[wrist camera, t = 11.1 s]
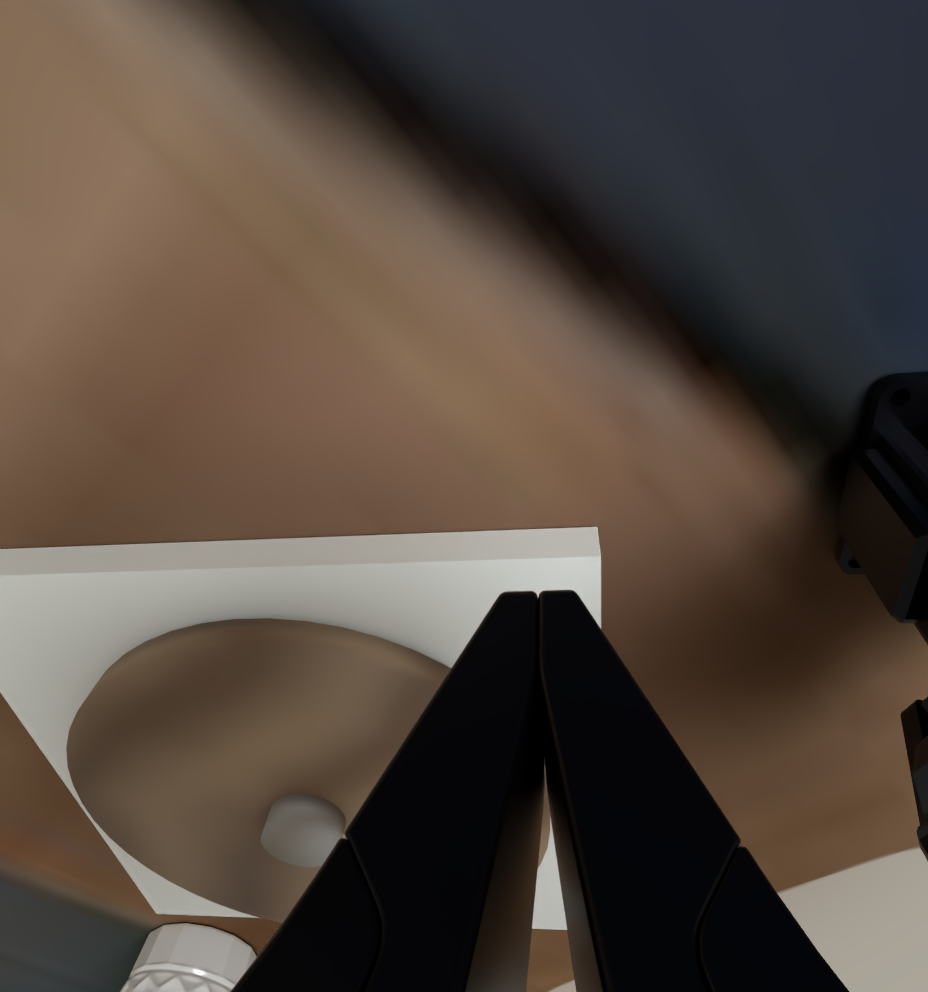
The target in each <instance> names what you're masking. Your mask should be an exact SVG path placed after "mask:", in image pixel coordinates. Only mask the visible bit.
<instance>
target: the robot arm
mask: <svg viewBox="0 0 928 992" xmlns="http://www.w3.org/2000/svg"><path fill="white" fill-rule="evenodd" d="M902 388H903V389H904V391H903V393H902V394H901V395H900V396H899V397H898V398H896V399H892V400H889V398H890V396H891V394H892V393H893V392H895V391H896V390H898V389H902ZM836 528H837V529H838V531H839V533H840V536H839V540H838V544H837V548H836V553H835V559H836V561H837V563H838V565H839V566H840V568H841V569H842V571H843V572H845V573H847V574H865V575H866V576H867V578H868V580H869V581H870V583H871V584H872V586H873V588H874V589H875V591H876V593H877V594H878V596H879V597H880V599H881V601H882V602H883V604H884V606H885V607H886V609H887V610H888V612H889V614H890V615H891V616H892V617H893V618H895V619H896V620H897V621H898V622H899V623H914V624H915V626H916V628H917V629H918V631H919V632H920V634H921V635H922V637H923V638H924V640H925V641H926V643H927V644H928V372H914V373H898V374H893V375H889V376H888V377H886V378H884V379H882V380H881V381H880V382H879V383H878V384H877V385H876V387H875V389H874V392H873V395H872V400H871V404H870V408H869V412H868V417H867V421H866V425H865V429H864V434H863V438H862V442H861V446H860V448H859V449H858V450H857V451H856V452H855V453H854V454H853V455H852V456H851V459H850V463H849V468H848V472H847V477H846V481H845V485H844V490H843V494H842V498H841V503H840V507H839V512H838V516H837V520H836ZM852 557H855V559H854V560H850V559H851V558H852ZM901 721H902V726H903V732H904V738H905V743H906V749H907V754H908V760H909V766H910V771H911V777H912V783H913V788H914V794H915V799H916V805H917V811H918V816H919V822H920V826H919V827H918V829H917V836H918V840H919V844H920V848H921V850H922V851H923V853H924V855H925V857H926V859H927V860H928V697H927V698H925V699H924V700H923V701H922V700H916V701H915V702H914V703H912V704H911V705H910V706H909V707H908V708H906V709H905V710H904V711H903V712H902V713H901ZM545 772H546V785H547V794H548V803H549V811H550V817H551V824H552V831H553V838H554V844H555V851H556V858H557V864H558V871H559V878H560V884H561V891H562V898H563V904H564V911H565V918H566V925H567V931H568V938H569V945H570V951H571V958H572V965H573V971H574V978H575V985H576V991H577V992H849V991H848V989H847V988H846V987H845V986H844V984H843V983H842V982H841V981H840V979H839V978H838V977H837V975H836V974H835V973H834V972H833V970H832V969H831V968H830V966H829V965H828V964H827V962H826V961H825V960H824V959H823V957H822V956H821V955H820V953H819V952H818V951H817V949H816V948H815V946H814V945H813V944H812V942H811V941H810V939H809V938H808V937H807V935H806V934H805V932H804V931H803V929H802V928H801V927H800V925H799V924H798V922H797V921H796V919H795V918H794V917H793V916H792V914H791V912H790V911H789V910H788V908H787V907H786V905H785V904H784V903H783V901H782V900H781V898H780V897H779V895H778V894H777V893H776V891H775V890H774V888H773V887H772V885H771V884H770V882H769V881H768V879H767V878H766V876H765V875H764V873H763V872H762V870H761V869H760V867H759V866H758V864H757V863H756V861H755V860H754V858H753V857H752V855H751V854H750V852H749V851H748V849H747V848H745V847H740V843H741V840H740V838H739V836H738V835H737V833H736V832H735V830H734V829H733V827H732V826H731V824H730V823H729V821H728V820H727V818H726V817H725V815H724V814H723V812H722V811H721V809H720V808H719V806H718V805H717V803H716V802H715V800H714V799H713V797H712V796H711V794H710V793H709V791H708V790H707V788H706V787H705V785H704V784H703V782H702V781H701V779H700V777H699V776H698V774H697V773H696V771H695V770H694V768H693V767H692V765H691V764H690V762H689V761H688V759H687V758H686V756H685V755H684V753H683V752H682V750H681V749H680V747H679V746H678V744H677V743H676V741H675V740H674V738H673V737H672V735H671V734H670V732H669V731H668V729H667V728H666V726H665V725H664V723H663V722H662V720H661V719H660V717H659V716H658V714H657V713H656V711H655V710H654V708H653V707H652V705H651V704H650V702H649V701H648V699H647V698H646V696H645V695H644V693H643V692H642V690H641V689H640V687H639V686H638V684H637V683H636V681H635V680H634V678H633V677H632V675H631V674H630V672H629V671H628V669H627V668H626V666H625V665H624V663H623V662H622V660H621V658H620V657H619V655H618V654H617V652H616V651H615V649H614V648H613V646H612V645H611V643H610V642H609V640H608V639H607V637H606V636H605V634H604V633H603V631H602V630H601V628H600V627H599V625H598V624H597V622H596V621H595V619H594V618H593V616H592V615H591V613H590V612H589V610H588V609H587V607H586V606H585V604H584V603H583V601H582V600H581V598H580V597H579V595H578V594H577V593H576V592H575V591H573V590H545V591H542V592H540V594H539V596H537V594H536V593H535V592H534V591H506V592H503V593H501V594H500V595H499V596H498V598H497V599H496V601H495V602H494V604H493V605H492V607H491V608H490V610H489V611H488V613H487V614H486V616H485V617H484V619H483V620H482V622H481V624H480V625H479V627H478V628H477V630H476V631H475V633H474V634H473V636H472V637H471V639H470V640H469V642H468V643H467V645H466V647H465V648H464V650H463V651H462V653H461V654H460V656H459V657H458V659H457V660H456V662H455V663H454V665H453V666H452V668H451V669H450V671H449V673H448V674H447V676H446V677H445V679H444V680H443V682H442V683H441V685H440V686H439V688H438V689H437V691H436V692H435V694H434V695H433V697H432V699H431V700H430V702H429V703H428V705H427V706H426V708H425V709H424V711H423V712H422V714H421V715H420V717H419V718H418V720H417V722H416V723H415V725H414V726H413V728H412V729H411V731H410V732H409V734H408V735H407V737H406V738H405V740H404V741H403V743H402V744H401V746H400V748H399V749H398V751H397V752H396V754H395V755H394V757H393V758H392V760H391V761H390V763H389V764H388V766H387V767H386V769H385V770H384V772H383V774H382V775H381V777H380V778H379V780H378V781H377V783H376V784H375V786H374V787H373V789H372V790H371V792H370V793H369V795H368V796H367V798H366V800H365V801H364V803H363V804H362V806H361V807H360V809H359V810H358V812H357V813H356V815H355V816H354V818H353V819H352V821H351V823H350V824H349V826H348V827H347V829H346V830H345V836H346V839H345V838H341V839H339V840H338V842H337V843H336V845H335V846H334V848H333V849H332V851H331V852H330V854H329V856H328V857H327V859H326V860H325V862H324V863H323V865H322V866H321V868H320V869H319V871H318V872H317V874H316V876H315V877H314V878H313V880H312V881H311V883H310V884H309V886H308V887H307V889H306V890H305V891H304V893H303V894H302V896H301V897H300V899H299V900H298V901H297V903H296V904H295V906H294V907H293V909H292V910H291V912H290V913H289V914H288V916H287V917H286V919H285V920H284V922H283V923H282V925H281V926H280V927H279V929H278V930H277V932H276V933H275V934H274V936H273V937H272V938H271V939H270V941H269V942H268V943H267V945H266V946H265V947H264V948H263V950H262V951H261V952H260V954H259V955H258V956H257V958H256V959H255V960H254V961H253V963H252V964H251V965H250V967H249V968H248V969H247V971H246V972H245V973H244V974H243V976H242V977H241V978H240V980H239V981H238V982H237V983H236V985H235V986H234V987H233V989H232V990H231V991H230V992H526V984H527V974H528V964H529V953H530V943H531V932H532V922H533V912H534V901H535V891H536V880H537V870H538V860H539V849H540V839H541V829H542V818H543V807H544V792H545Z"/></svg>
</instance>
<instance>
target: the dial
mask: <svg viewBox="0 0 928 992" xmlns="http://www.w3.org/2000/svg"><path fill="white" fill-rule="evenodd" d="M450 669H451V668H449V667H448V666H446V665H444V664H442V663H440V662H438V661H436V660H434V659H432V658H430V657H427V656H425V655H423V654H421V653H419V652H417V651H415V650H413V649H410V648H407V647H405V646H402V645H399V644H397V643H394V642H391V641H388V640H386V639H383V638H380V637H377V636H373V635H370V634H366V633H362V632H358V631H355V630H351V629H347V628H344V627H338V626H332V625H326V624H321V623H315V622H309V621H299V620H286V619H273V618H257V619H231V620H223V621H215V622H207V623H201V624H197V625H193V626H189V627H185V628H181V629H177V630H173V631H170V632H167V633H165V634H163V635H160V636H158V637H155V638H153V639H150V640H148V641H145V642H144V643H142V644H140V645H139V646H137V647H135V648H134V649H132V650H130V651H129V652H127V653H125V654H124V655H123V656H122V657H120V658H119V659H118V660H117V661H116V662H115V663H114V664H112V665H111V666H110V667H109V668H108V669H107V670H106V671H105V673H104V674H103V675H102V677H101V678H100V679H99V681H98V682H97V683H96V685H95V686H94V687H93V689H92V690H91V692H90V693H89V695H88V696H87V698H86V699H85V701H84V702H83V704H82V705H81V707H80V708H79V709H78V711H77V713H76V715H75V717H74V720H73V722H72V724H71V727H70V729H69V734H68V740H67V746H66V752H67V765H68V770H69V773H70V777H71V780H72V783H73V786H74V788H75V790H76V792H77V794H78V796H79V798H80V800H81V802H82V804H83V805H84V807H85V808H86V810H87V811H88V813H89V814H90V815H91V817H92V818H93V820H94V821H95V822H96V823H97V824H98V825H99V827H100V828H101V829H102V830H103V831H104V832H105V833H106V834H107V835H108V836H109V838H111V839H112V840H113V841H114V842H115V843H116V844H117V845H118V846H120V847H121V848H122V849H123V850H124V851H125V852H126V853H128V854H129V855H130V856H132V857H133V858H134V859H136V860H137V861H138V862H140V863H141V864H143V865H144V866H145V867H147V868H148V869H150V870H151V871H153V872H155V873H156V874H158V875H160V876H161V877H163V878H164V879H166V880H168V881H170V882H171V883H173V884H175V885H177V886H179V887H181V888H183V889H185V890H187V891H189V892H191V893H193V894H195V895H198V896H200V897H202V898H205V899H207V900H209V901H211V902H214V903H216V904H219V905H222V906H225V907H227V908H230V909H233V910H236V911H239V912H242V913H245V914H249V915H252V916H255V917H259V918H262V919H266V920H270V921H275V922H279V923H283V922H284V920H285V919H286V917H287V916H288V914H289V913H290V912H291V910H292V909H293V907H294V906H295V904H296V903H297V901H298V900H299V899H300V897H301V896H302V894H303V893H304V891H305V890H306V889H307V887H308V886H309V884H310V883H311V881H312V880H313V878H314V877H315V876H316V874H317V872H318V871H319V869H320V868H321V866H322V865H323V863H324V862H325V860H326V859H327V857H328V856H329V854H330V852H331V851H332V849H333V848H334V846H335V845H336V843H337V842H338V840H339V839H341V838H345V839H346V836H345V830H346V829H347V827H348V826H349V824H350V823H351V821H352V819H353V818H354V816H355V815H356V813H357V812H358V810H359V809H360V807H361V806H362V804H363V803H364V801H365V800H366V798H367V796H368V795H369V793H370V792H371V790H372V789H373V787H374V786H375V784H376V783H377V781H378V780H379V778H380V777H381V775H382V774H383V772H384V770H385V769H386V767H387V766H388V764H389V763H390V761H391V760H392V758H393V757H394V755H395V754H396V752H397V751H398V749H399V748H400V746H401V744H402V743H403V741H404V740H405V738H406V737H407V735H408V734H409V732H410V731H411V729H412V728H413V726H414V725H415V723H416V722H417V720H418V718H419V717H420V715H421V714H422V712H423V711H424V709H425V708H426V706H427V705H428V703H429V702H430V700H431V699H432V697H433V695H434V694H435V692H436V691H437V689H438V688H439V686H440V685H441V683H442V682H443V680H444V679H445V677H446V676H447V674H448V673H449V671H450ZM549 836H550V811H549V803H548V794H547V785H546V772H545V792H544V807H543V818H542V829H541V839H540V849H539V860H538V867H539V866H540V864H541V862H542V860H543V858H544V855H545V853H546V850H547V848H548V842H549Z"/></svg>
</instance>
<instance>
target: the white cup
mask: <svg viewBox="0 0 928 992" xmlns="http://www.w3.org/2000/svg"><path fill="white" fill-rule="evenodd" d="M256 958H257V956H256V954H255V952H254V950H253V949H252V947H251V946H249V945H248V944H247V943H245V942H244V941H242V940H241V939H239V938H238V937H236V936H235V935H232V934H229V933H227V932H224V931H223V930H219V929H216V928H214V927H209V926H203V925H197V924H190V923H178V924H167V925H163V926H161V927H159V928H157V929H155V930H153V931H152V932H150V934H149V935H148V937H147V939H146V942H145V944H144V946H143V948H142V950H141V952H140V954H139V956H138V959H137V961H136V963H135V965H134V967H133V969H132V971H131V973H130V976H129V980H128V981H127V982H126V983H125V985H124V986H123V987H122V989H121V990H120V992H230V991H231V990H232V989H233V987H234V986H235V985H236V983H237V982H238V981H239V980H240V978H241V977H242V976H243V974H244V973H245V972H246V971H247V969H248V968H249V967H250V965H251V964H252V963H253V961H254V960H255V959H256Z"/></svg>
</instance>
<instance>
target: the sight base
mask: <svg viewBox="0 0 928 992" xmlns="http://www.w3.org/2000/svg"><path fill="white" fill-rule="evenodd" d="M545 590H573V591H575V592H576V593H577V594H578V595H579V597H580V598H581V600H582V601H583V603H584V604H585V606H586V607H587V609H588V610H589V612H590V613H591V615H592V616H593V618H594V619H595V621H596V622H597V624H598V625H599V627H600V628H601V552H600V544H599V536H598V529H597V527H578V528H551V529H525V530H498V531H471V532H445V533H418V534H391V535H365V536H338V537H311V538H285V539H258V540H231V541H205V542H178V543H151V544H125V545H98V546H71V547H45V548H18V549H0V693H1V694H2V696H3V697H4V698H5V700H6V701H7V703H8V704H9V705H10V707H11V708H12V710H13V711H14V713H15V714H16V715H17V717H18V718H19V720H20V721H21V722H22V724H23V725H24V727H25V728H26V730H27V731H28V732H29V734H30V735H31V737H32V738H33V739H34V741H35V742H36V744H37V745H38V747H39V748H40V749H41V751H42V752H43V754H44V755H45V756H46V758H47V759H48V761H49V762H50V764H51V765H52V766H53V768H54V769H55V771H56V772H57V773H58V775H59V776H60V778H61V779H62V781H63V782H64V783H65V785H66V786H67V788H68V789H69V790H70V792H71V793H72V795H73V796H74V798H75V799H76V800H77V802H78V803H79V805H80V806H81V808H82V809H83V810H84V812H85V813H86V815H87V816H88V817H89V819H90V820H91V822H92V823H93V825H94V826H95V827H96V829H97V830H98V832H99V833H100V834H101V836H102V837H103V839H104V840H105V842H106V843H107V844H108V846H109V847H110V849H111V850H112V851H113V853H114V854H115V856H116V857H117V859H118V860H119V861H120V863H121V864H122V866H123V867H124V868H125V870H126V871H127V873H128V874H129V876H130V877H131V878H132V880H133V881H134V883H135V884H136V885H137V887H138V888H139V890H140V891H141V893H142V894H143V895H144V897H145V898H146V900H147V901H148V902H149V904H150V905H151V907H152V908H153V910H154V911H155V912H156V914H173V915H199V916H224V917H250V918H259V917H255V916H252V915H249V914H245V913H242V912H239V911H236V910H233V909H230V908H227V907H225V906H222V905H219V904H216V903H214V902H211V901H209V900H207V899H205V898H202V897H200V896H198V895H195V894H193V893H191V892H189V891H187V890H185V889H183V888H181V887H179V886H177V885H175V884H173V883H171V882H170V881H168V880H166V879H164V878H163V877H161V876H160V875H158V874H156V873H155V872H153V871H151V870H150V869H148V868H147V867H145V866H144V865H143V864H141V863H140V862H138V861H137V860H136V859H134V858H133V857H132V856H130V855H129V854H128V853H126V852H125V851H124V850H123V849H122V848H121V847H120V846H118V845H117V844H116V843H115V842H114V841H113V840H112V839H111V838H109V836H108V835H107V834H106V833H105V832H104V831H103V830H102V829H101V828H100V827H99V825H98V824H97V823H96V822H95V821H94V820H93V818H92V817H91V815H90V814H89V813H88V811H87V810H86V808H85V807H84V805H83V804H82V802H81V800H80V798H79V796H78V794H77V792H76V790H75V788H74V786H73V783H72V780H71V777H70V773H69V770H68V765H67V752H66V746H67V740H68V734H69V729H70V727H71V724H72V722H73V720H74V717H75V715H76V713H77V711H78V709H79V708H80V707H81V705H82V704H83V702H84V701H85V699H86V698H87V696H88V695H89V693H90V692H91V690H92V689H93V687H94V686H95V685H96V683H97V682H98V681H99V679H100V678H101V677H102V675H103V674H104V673H105V671H106V670H107V669H108V668H109V667H110V666H111V665H112V664H114V663H115V662H116V661H117V660H118V659H119V658H120V657H122V656H123V655H124V654H125V653H127V652H129V651H130V650H132V649H134V648H135V647H137V646H139V645H140V644H142V643H144V642H145V641H148V640H150V639H153V638H155V637H158V636H160V635H163V634H165V633H167V632H170V631H173V630H177V629H181V628H185V627H189V626H193V625H197V624H201V623H207V622H215V621H223V620H231V619H257V618H273V619H286V620H299V621H309V622H315V623H321V624H326V625H332V626H338V627H344V628H347V629H351V630H355V631H358V632H362V633H366V634H370V635H373V636H377V637H380V638H383V639H386V640H388V641H391V642H394V643H397V644H399V645H402V646H405V647H407V648H410V649H413V650H415V651H417V652H419V653H421V654H423V655H425V656H427V657H430V658H432V659H434V660H436V661H438V662H440V663H442V664H444V665H446V666H448V667H449V668H452V666H453V665H454V663H455V662H456V660H457V659H458V657H459V656H460V654H461V653H462V651H463V650H464V648H465V647H466V645H467V643H468V642H469V640H470V639H471V637H472V636H473V634H474V633H475V631H476V630H477V628H478V627H479V625H480V624H481V622H482V620H483V619H484V617H485V616H486V614H487V613H488V611H489V610H490V608H491V607H492V605H493V604H494V602H495V601H496V599H497V598H498V596H499V595H500V594H501V593H503V592H506V591H534V592H535V593H536V594H537V596H539V594H540V592H542V591H545ZM532 929H555V930H567V925H566V918H565V911H564V904H563V898H562V891H561V884H560V878H559V871H558V864H557V858H556V851H555V844H554V838H553V831H552V824H551V817H550V836H549V842H548V848H547V850H546V853H545V855H544V858H543V860H542V862H541V864H540V866H539V867H538V870H537V880H536V891H535V901H534V912H533V922H532Z"/></svg>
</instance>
